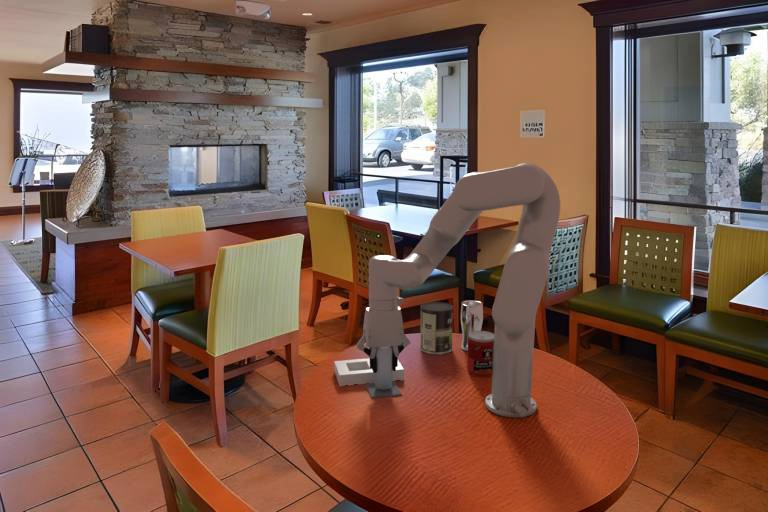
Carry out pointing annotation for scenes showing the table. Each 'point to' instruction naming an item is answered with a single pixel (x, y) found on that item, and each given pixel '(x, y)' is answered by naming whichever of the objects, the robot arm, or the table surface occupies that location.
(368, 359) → the housing
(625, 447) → the table surface
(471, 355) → the canned food
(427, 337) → the coffee can
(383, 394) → the mat
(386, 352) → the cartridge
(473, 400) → the table surface
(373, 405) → the table surface
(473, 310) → the beer glass
